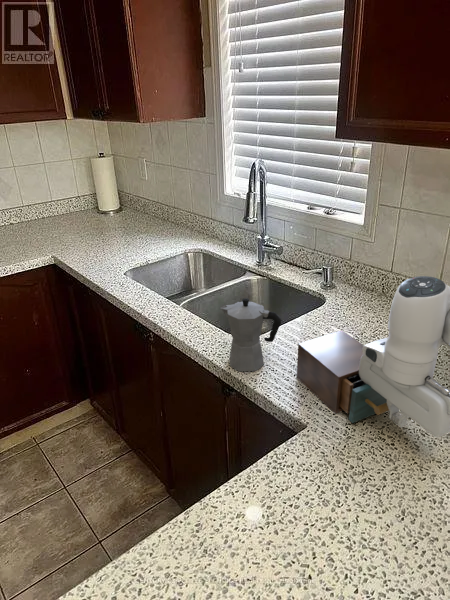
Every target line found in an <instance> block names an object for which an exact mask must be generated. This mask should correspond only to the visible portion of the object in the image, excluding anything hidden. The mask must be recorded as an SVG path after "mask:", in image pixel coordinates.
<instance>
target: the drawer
mask: <svg viewBox="0 0 450 600" xmlns="http://www.w3.org/2000/svg"><path fill="white" fill-rule="evenodd" d="M355 375H356V374H355ZM352 376H353V375H352ZM347 378H348V377H347ZM386 402H387V399H385V398H384V397H383V396H382V395H380V394H379V393H378V392H376V391H375V390H374V389H373V388H371V386H369V385H368V384H365V385H363V386H360V387H358V388H355V389H353V384H352V383H351V382H350V381H349V380H347V379H346V378H344V379H342V381H341V391H340V401H339V406H340V407H341V408H342V409H343V410H344V411H343V412H345V413H346V414H348V421H349V422H351V424H354V423H357V422H359V421H361V420H364V419H366V418H368V417H371V416H374V415H377V416H380V415H382V414H384V413H387V412H389V409H388V406H387V403H386Z"/></svg>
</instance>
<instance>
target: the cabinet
mask: <svg viewBox="0 0 450 600" xmlns="http://www.w3.org/2000/svg"><path fill="white" fill-rule="evenodd" d="M364 345H365V344H363V343H361V342H360V341H359V340H357V339H356V338H354V337H353V336H351V335H350V334H348V333H347V332H345V331H344V330H338V331H335V332H331V333H328V334H325V335H323V336H318V337H316V338H313V339H309V340H305V341H303V342H299V343H297V365H296V378H297V380H298V381H300V383H302V385H304V386H305V387H306V388H307V389H308V390H309V391H310V392H311V393H312V394H313V395H315V396H316V398H318V399H319V400H320V401H321V402H322V403H323V404H324V405H325V406H326V407H327V408H329V410H330V411H332V412H333V413H334V414H335V415H337V414H339V413H341V412H345V411H344V410H343V409H342V408H341V407H340V406H339V401H340V391H341V381H342V379H344V378H347V377H350V376H352V375H355V374H358V373H359V365H360V360H361V357H362V355H363V351H362V349H363V346H364Z"/></svg>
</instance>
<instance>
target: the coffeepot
mask: <svg viewBox="0 0 450 600" xmlns="http://www.w3.org/2000/svg"><path fill="white" fill-rule="evenodd" d="M219 309H220V310H221V311H222V312H223V314H224V315H225V316H226V318H227V320H228V324H229V329H230V333H231V337H232V340H231V345H230V346H231V347H230V353H229V366H230V367H231V368H232V367H233V368H234V369H233V368H232V369H233V370H235V369H236V370H235V371H237V370H239V371H238V372H241V371H242V372H241V373H244V372H243V371H252V372H255V371H258V370H260V369H261V368H262V367H264V365H265V362H264V355H263V350H262V343H261V338H260V337H261V335H262V331H263V325H264V320H272V321H273V323H272V327H271V330H270V332H269V337H264V341H265V342H268V343H273V342H274V340H275V338H276V336H277V333H278V331H279V329H280V326H281V325H282V319H281V317H280V316H279V314H278V313H277V312H276V311H270V310H268V309H265V308H264V305H262V304H260V303H257V302H255V301H250V298H246V297H244V298H242V300H241V301H236V302H235V303H233V304H226V305H222V306H221V307H220V308H219Z"/></svg>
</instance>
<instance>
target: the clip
mask: <svg viewBox="0 0 450 600" xmlns="http://www.w3.org/2000/svg"><path fill="white" fill-rule="evenodd" d="M346 379H347V380H349V381H350V382H351V383H352V384H353V389H355V388H358V387H360V386H363V385H365V384H366V383H365V382H363V381H362V380H361V378H360V375H359V373H358V374H356V375H353V376H350V377H348V378H346Z"/></svg>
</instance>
